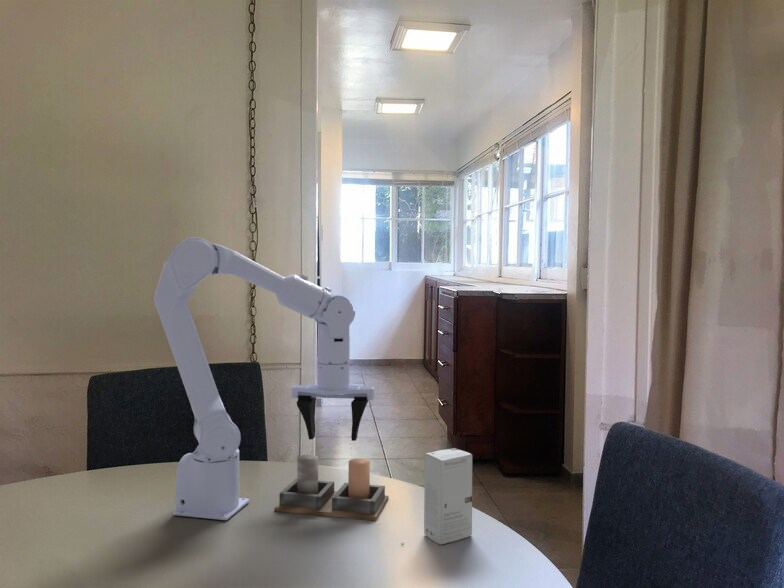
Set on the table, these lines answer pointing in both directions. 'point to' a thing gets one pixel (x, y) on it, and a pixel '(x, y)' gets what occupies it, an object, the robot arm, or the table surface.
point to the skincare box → (448, 495)
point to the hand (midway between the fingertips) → (333, 438)
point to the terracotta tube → (359, 478)
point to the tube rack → (327, 495)
